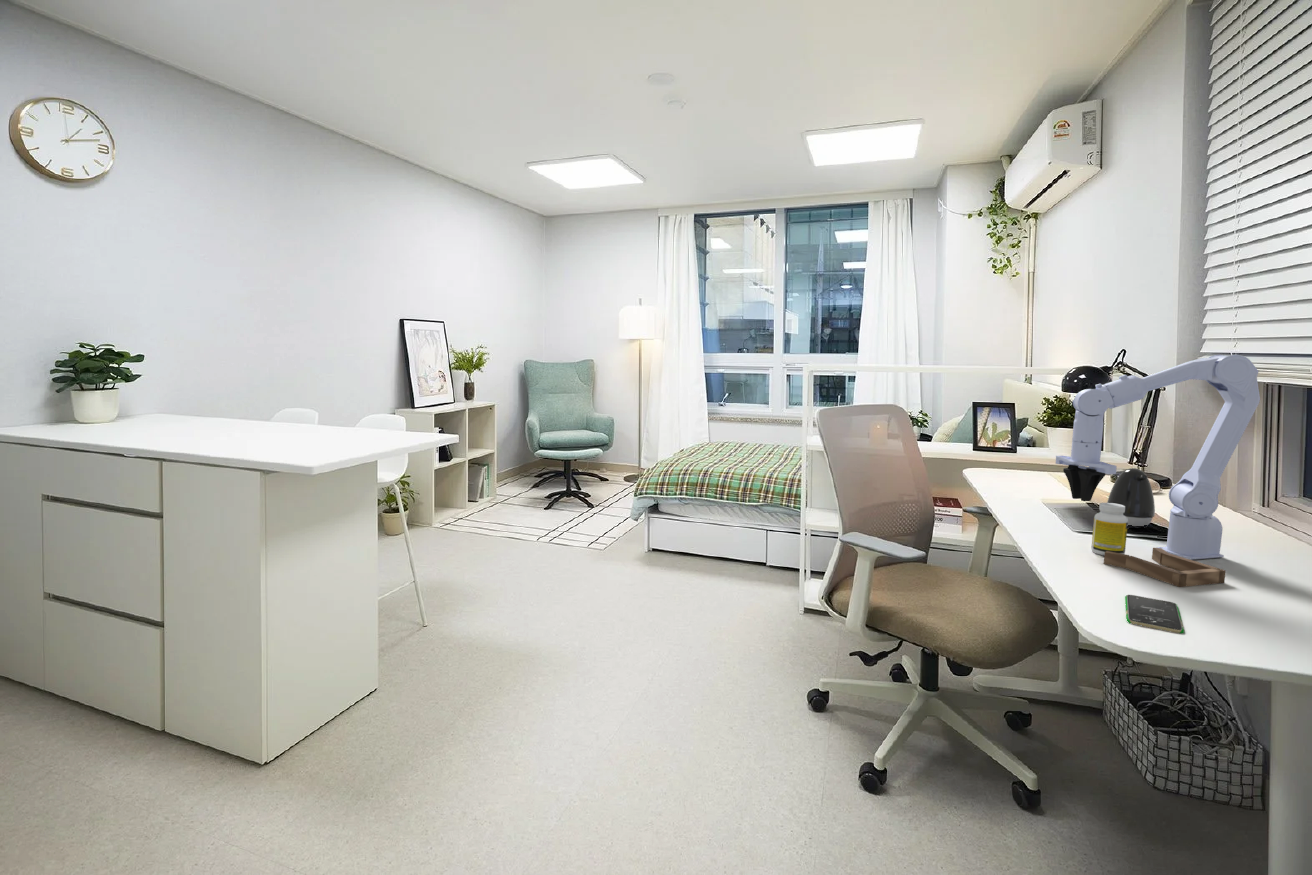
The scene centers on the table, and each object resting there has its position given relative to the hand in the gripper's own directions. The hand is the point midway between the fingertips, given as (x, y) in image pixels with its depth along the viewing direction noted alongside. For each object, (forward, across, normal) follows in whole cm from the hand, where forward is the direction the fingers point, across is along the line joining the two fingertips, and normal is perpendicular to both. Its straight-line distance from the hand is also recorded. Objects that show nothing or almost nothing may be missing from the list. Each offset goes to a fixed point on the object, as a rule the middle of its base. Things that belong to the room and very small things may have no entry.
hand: (1081, 499), depth 154 cm
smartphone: (+11, +38, -23) cm, 46 cm away
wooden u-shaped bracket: (+10, +21, 0) cm, 23 cm away
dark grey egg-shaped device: (+11, -10, +26) cm, 30 cm away
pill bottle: (+11, +8, 0) cm, 13 cm away
